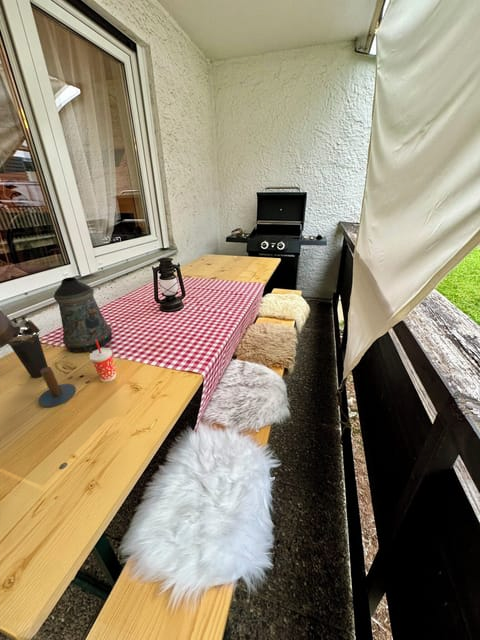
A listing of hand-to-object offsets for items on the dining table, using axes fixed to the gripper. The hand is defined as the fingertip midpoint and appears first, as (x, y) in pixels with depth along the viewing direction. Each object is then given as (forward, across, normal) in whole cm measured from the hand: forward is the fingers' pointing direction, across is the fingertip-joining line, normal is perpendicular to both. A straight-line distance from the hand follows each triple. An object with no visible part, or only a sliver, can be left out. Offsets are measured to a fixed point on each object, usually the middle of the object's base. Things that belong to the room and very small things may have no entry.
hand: (13, 350), depth 68 cm
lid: (+9, 0, +14) cm, 17 cm away
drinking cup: (+19, 0, +2) cm, 19 cm away
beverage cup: (+10, -13, +19) cm, 25 cm away
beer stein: (+28, -18, -2) cm, 33 cm away
